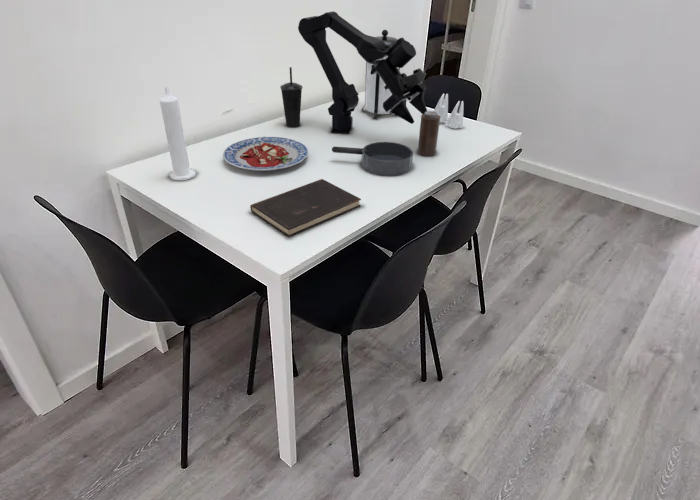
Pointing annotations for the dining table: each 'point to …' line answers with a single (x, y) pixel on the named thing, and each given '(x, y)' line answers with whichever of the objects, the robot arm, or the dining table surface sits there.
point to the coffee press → (377, 84)
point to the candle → (175, 138)
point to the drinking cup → (292, 102)
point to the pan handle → (348, 150)
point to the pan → (387, 158)
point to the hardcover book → (305, 207)
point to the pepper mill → (428, 133)
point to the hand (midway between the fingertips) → (420, 119)
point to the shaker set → (455, 116)
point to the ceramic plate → (265, 153)
